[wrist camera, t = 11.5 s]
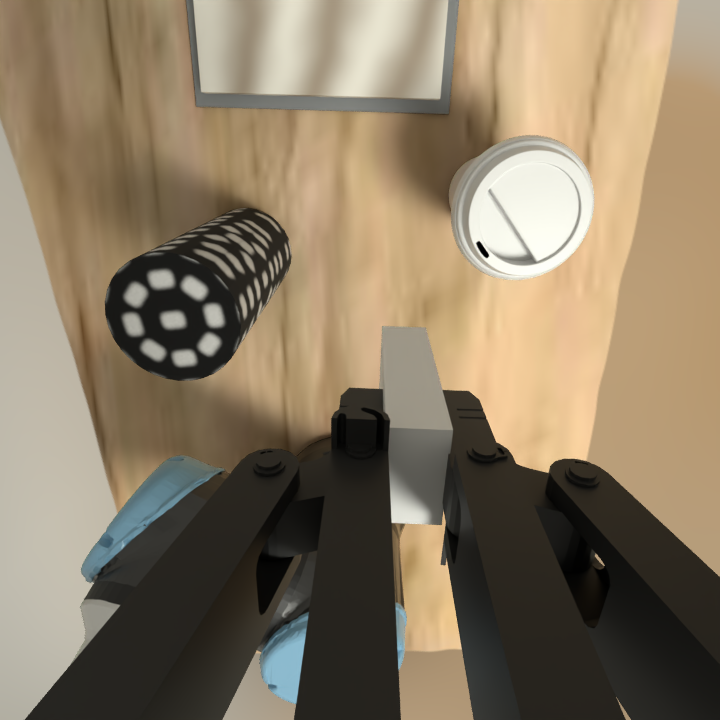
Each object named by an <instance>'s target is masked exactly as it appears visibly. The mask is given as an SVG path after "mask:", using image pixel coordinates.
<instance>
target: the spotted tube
mask: <svg viewBox="0 0 720 720" xmlns="http://www.w3.org/2000/svg"><path fill="white" fill-rule="evenodd" d="M290 264H291V246H290V243H289V239H288V237H287V235H286V233H285V231H284V230H283V228H282V227H281V226H280V224H279V223H278V222H277V221H276V220H274V219H273V218H272V217H271V216H269V215H267V214H266V213H264V212H261V211H259V210H255V209H249V208H240V209H236V210H232V211H230V212H227V213H225V214H223V215H221V216H219V217H217V218H215V219H213V220H211V221H209V222H207V223H205V224H203V225H201V226H199V227H197V228H195V229H193V230H191V231H189V232H187V233H185V234H183V235H181V236H179V237H177V238H175V239H173V240H171V241H169V242H167V243H165V244H163V245H161V246H159V247H157V248H155V249H153V250H151V251H149V252H146V253H144V254H142V255H140V256H138V257H136V258H134V259H132V260H130V261H129V262H127V263H126V264H125V265H124V266H122V267H121V268H120V269H119V270H118V271H117V273H116V274H115V275H114V277H113V278H112V280H111V282H110V284H109V287H108V289H107V294H106V299H105V315H106V319H107V323H108V327H109V329H110V331H111V334H112V336H113V338H114V340H115V341H116V343H117V344H118V346H119V347H120V349H121V350H122V351H123V352H124V353H125V354H126V355H127V356H128V357H129V358H130V359H131V360H132V361H133V362H134V363H136V364H137V365H138V366H140V367H141V368H143V369H144V370H146V371H148V372H150V373H152V374H154V375H157V376H160V377H163V378H166V379H172V380H178V381H188V380H196V379H201V378H204V377H207V376H209V375H212V374H214V373H215V372H217V371H218V370H220V369H221V368H223V367H224V366H225V365H226V363H227V362H228V361H229V360H230V359H231V358H232V356H233V355H234V353H235V352H236V350H237V349H238V347H239V346H240V344H241V343H242V341H243V340H244V338H245V336H246V335H247V333H248V332H249V330H250V329H251V327H252V326H253V324H254V323H255V321H256V320H257V318H258V317H259V315H260V314H261V312H262V311H263V309H264V308H265V306H266V305H267V303H268V302H269V300H270V299H271V297H272V296H273V294H274V292H275V291H276V289H277V288H278V286H279V285H280V283H281V282H282V280H283V279H284V277H285V276H286V274H287V272H288V270H289V267H290Z"/></svg>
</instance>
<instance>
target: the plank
mask: <svg viewBox="0 0 720 720" xmlns="http://www.w3.org/2000/svg"><path fill="white" fill-rule="evenodd" d="M193 3H194V15H195V27H196V38H197V50H198V62H199V73H200V85H201V92H203V93H206V94H239V95H273V96H307V97H342V98H376V99H410V100H440V97H441V85H442V72H443V60H444V48H445V36H446V23H447V11H448V0H193Z"/></svg>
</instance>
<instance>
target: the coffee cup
mask: <svg viewBox="0 0 720 720" xmlns="http://www.w3.org/2000/svg"><path fill="white" fill-rule="evenodd" d="M449 204H450V208H451V224H452V231H453V235H454V238H455V241H456V244H457V246H458V248H459V250H460V251H461V253H462V254H463V256H464V257H465V258H466V259H467V261H468V262H469V263H470V264H471V265H473V266H474V267H475V268H476V269H478V270H479V271H481V272H483V273H485V274H487V275H489V276H492V277H495V278H499V279H505V280H524V279H530V278H534V277H537V276H540V275H543V274H545V273H547V272H549V271H551V270H553V269H554V268H556V267H558V266H559V265H560V264H562V263H563V262H564V261H565V260H567V259H568V258H569V257H570V256H571V255H572V254H573V253H574V251H575V250H576V249H577V248H578V246H579V245H580V244H581V242H582V240H583V239H584V237H585V235H586V233H587V231H588V229H589V226H590V223H591V220H592V215H593V209H594V190H593V184H592V181H591V177H590V175H589V172H588V170H587V168H586V167H585V165H584V163H583V162H582V161H581V159H580V158H579V157H578V155H577V154H576V153H575V152H574V151H573V150H571V149H570V148H569V147H568V146H566V145H565V144H563V143H561V142H559V141H557V140H555V139H552V138H548V137H544V136H538V135H525V136H518V137H513V138H510V139H507V140H504V141H502V142H499V143H497V144H495V145H494V146H492V147H490V148H489V149H487V150H486V151H485V152H483V153H482V154H481V155H480V156H478V157H475V158H473V159H471V160H469V161H467V162H466V163H464V164H463V165H462V166H461V167H460V168H459V169H458V170H457V172H456V173H455V175H454V177H453V178H452V181H451V184H450V187H449Z"/></svg>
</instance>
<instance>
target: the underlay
mask: <svg viewBox="0 0 720 720" xmlns="http://www.w3.org/2000/svg"><path fill="white" fill-rule="evenodd" d="M186 3H187V13H188V24H189V34H190V45H191V55H192V65H193V76H194V86H195V97H196V106H197V107H225V108H259V109H293V110H327V111H361V112H394V113H428V114H449V105H450V94H451V83H452V72H453V61H454V50H455V39H456V28H457V17H458V6H459V0H448V11H447V23H446V36H445V48H444V60H443V72H442V85H441V97H440V100H410V99H376V98H342V97H307V96H273V95H239V94H206V93H203V92H201V85H200V73H199V62H198V50H197V38H196V27H195V15H194V3H193V0H186Z"/></svg>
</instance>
